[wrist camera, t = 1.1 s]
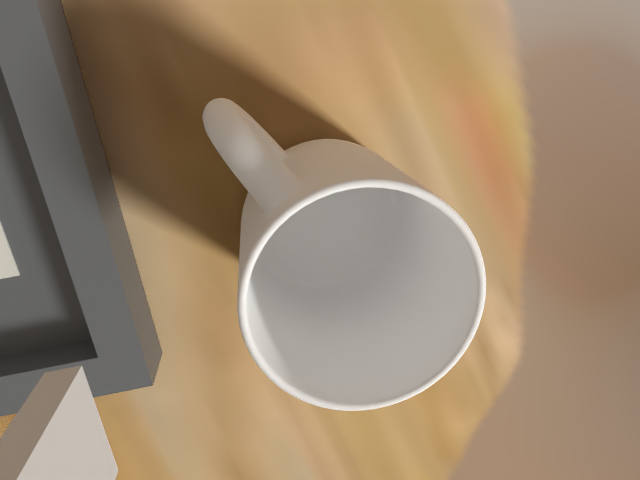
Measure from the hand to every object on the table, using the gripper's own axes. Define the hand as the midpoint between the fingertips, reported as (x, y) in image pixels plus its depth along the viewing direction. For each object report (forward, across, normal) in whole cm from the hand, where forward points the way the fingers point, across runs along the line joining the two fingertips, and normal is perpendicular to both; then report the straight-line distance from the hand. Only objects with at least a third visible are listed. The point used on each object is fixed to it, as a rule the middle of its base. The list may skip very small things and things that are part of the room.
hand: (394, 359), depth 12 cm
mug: (+16, -1, 0) cm, 16 cm away
